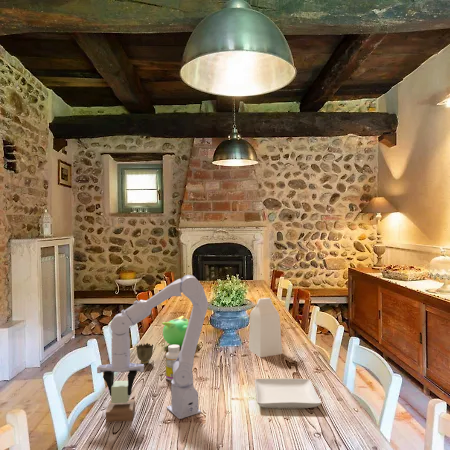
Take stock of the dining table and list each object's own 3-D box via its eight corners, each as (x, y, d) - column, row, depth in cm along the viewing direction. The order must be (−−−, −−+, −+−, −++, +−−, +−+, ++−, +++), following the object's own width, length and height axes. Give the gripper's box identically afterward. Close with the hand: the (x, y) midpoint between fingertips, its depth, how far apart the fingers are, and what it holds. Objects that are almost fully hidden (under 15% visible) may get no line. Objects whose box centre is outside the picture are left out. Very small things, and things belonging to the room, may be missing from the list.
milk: (260, 357, 178) (259, 301, 178) (248, 350, 188) (248, 297, 189) (282, 353, 183) (281, 299, 183) (269, 347, 193) (269, 295, 193)
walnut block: (132, 421, 119) (132, 410, 119) (105, 423, 118) (105, 412, 118) (135, 409, 127) (134, 399, 127) (110, 411, 126) (110, 400, 126)
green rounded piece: (200, 341, 204) (200, 313, 204) (194, 351, 187) (194, 321, 187) (167, 340, 206) (167, 313, 206) (158, 350, 189) (158, 320, 189)
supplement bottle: (174, 373, 158) (174, 342, 158) (185, 377, 154) (185, 345, 154) (162, 378, 153) (162, 346, 153) (173, 382, 149) (173, 349, 149)
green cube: (127, 402, 121) (127, 386, 121) (111, 403, 120) (111, 387, 120) (130, 395, 126) (130, 380, 126) (114, 396, 125) (114, 381, 125)
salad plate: (254, 386, 146) (254, 377, 146) (310, 386, 145) (310, 377, 145) (256, 413, 124) (256, 402, 124) (322, 413, 124) (322, 403, 124)
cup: (156, 363, 171) (156, 345, 171) (142, 367, 165) (142, 349, 166) (146, 359, 176) (146, 342, 176) (133, 363, 171) (133, 345, 171)
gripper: (145, 347, 127) (145, 388, 127) (101, 348, 127) (101, 389, 126) (142, 354, 120) (142, 397, 120) (95, 355, 120) (95, 399, 119)
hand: (120, 394), depth 123 cm, fingers closed on green cube, 5 cm apart
